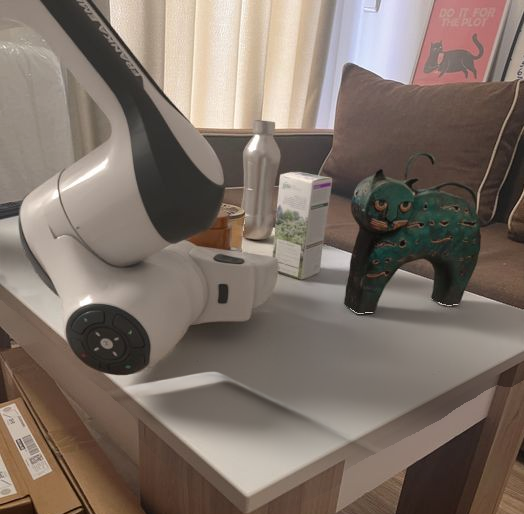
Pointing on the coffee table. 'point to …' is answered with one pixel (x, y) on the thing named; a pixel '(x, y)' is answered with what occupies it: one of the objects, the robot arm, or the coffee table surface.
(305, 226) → the syrup box
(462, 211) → the ceramic cat
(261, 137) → the metal water bottle
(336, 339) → the coffee table surface
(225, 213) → the jar
